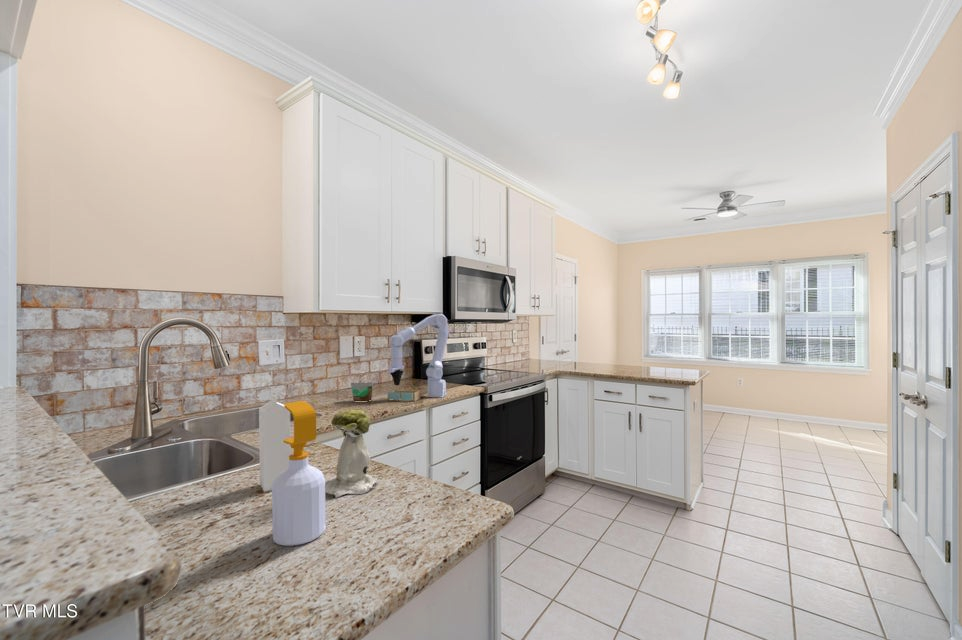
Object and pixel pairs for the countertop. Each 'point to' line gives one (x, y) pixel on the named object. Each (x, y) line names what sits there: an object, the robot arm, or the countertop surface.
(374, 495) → the countertop surface
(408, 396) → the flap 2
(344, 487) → the tree figurine
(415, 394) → the carton
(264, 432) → the white gable-top box
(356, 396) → the food container
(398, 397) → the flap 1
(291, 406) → the soap bottle
